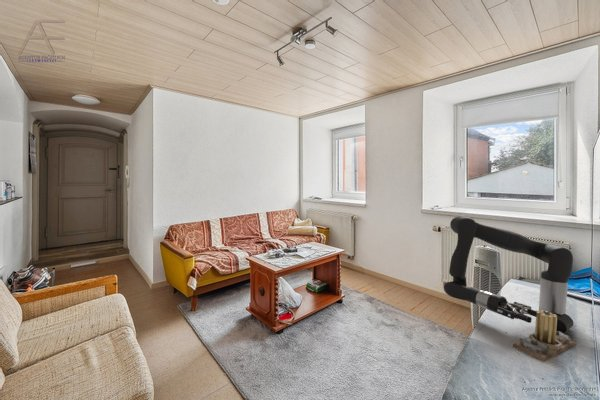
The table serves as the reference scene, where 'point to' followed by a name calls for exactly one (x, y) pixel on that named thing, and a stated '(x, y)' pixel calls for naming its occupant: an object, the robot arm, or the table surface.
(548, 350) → the gear board
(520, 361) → the table surface
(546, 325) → the pinion
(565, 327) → the end cap
